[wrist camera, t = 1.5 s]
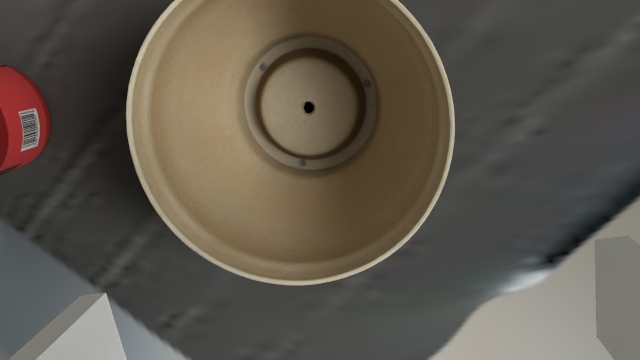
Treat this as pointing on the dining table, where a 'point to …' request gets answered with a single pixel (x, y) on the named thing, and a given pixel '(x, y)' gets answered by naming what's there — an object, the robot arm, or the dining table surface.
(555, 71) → the dining table surface
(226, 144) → the planter bowl
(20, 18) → the dining table surface
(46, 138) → the canned food
